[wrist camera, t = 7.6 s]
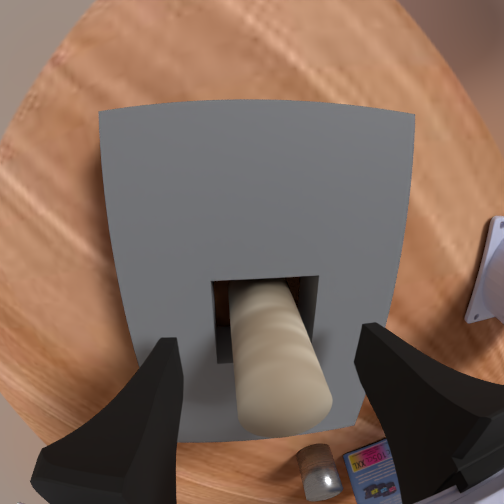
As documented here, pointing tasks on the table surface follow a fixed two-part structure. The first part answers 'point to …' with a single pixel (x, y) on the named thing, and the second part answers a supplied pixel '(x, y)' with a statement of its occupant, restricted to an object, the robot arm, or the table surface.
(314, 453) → the short steel pin
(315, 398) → the birch pin
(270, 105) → the hole plate
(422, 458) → the robot arm
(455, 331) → the table surface
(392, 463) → the ink cartridge box
